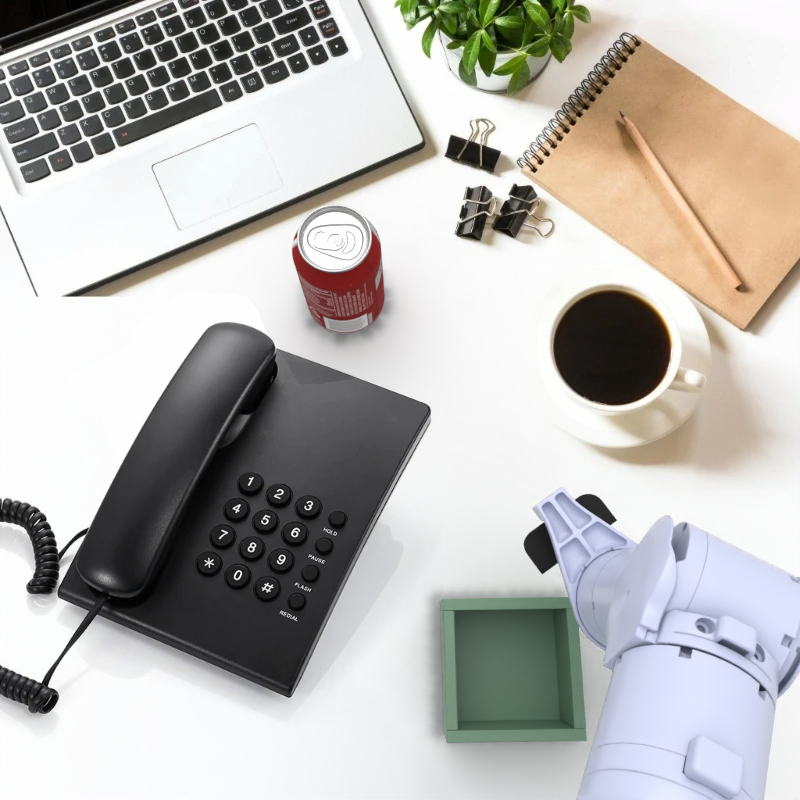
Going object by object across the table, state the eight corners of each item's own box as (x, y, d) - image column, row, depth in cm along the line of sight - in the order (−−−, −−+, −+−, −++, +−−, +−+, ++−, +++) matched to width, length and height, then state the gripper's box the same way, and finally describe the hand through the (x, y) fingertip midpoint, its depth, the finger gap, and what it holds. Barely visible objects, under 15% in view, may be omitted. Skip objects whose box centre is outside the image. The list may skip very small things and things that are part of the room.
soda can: (378, 342, 69) (371, 286, 58) (301, 330, 70) (280, 272, 58) (390, 271, 71) (387, 202, 60) (315, 260, 72) (298, 190, 60)
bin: (569, 729, 61) (587, 741, 55) (442, 731, 61) (446, 743, 55) (560, 599, 64) (576, 596, 57) (439, 600, 64) (442, 598, 58)
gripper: (803, 678, 40) (710, 652, 53) (620, 444, 43) (576, 474, 56) (692, 764, 39) (626, 716, 53) (514, 521, 42) (494, 533, 56)
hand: (595, 596), depth 54 cm, fingers open, 7 cm apart
